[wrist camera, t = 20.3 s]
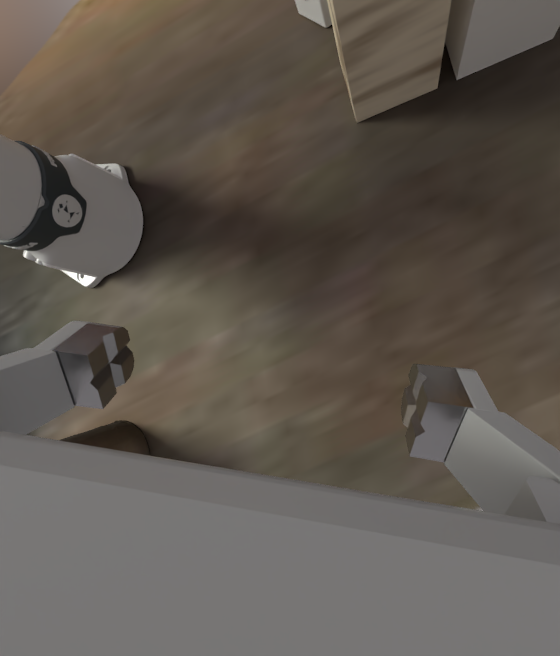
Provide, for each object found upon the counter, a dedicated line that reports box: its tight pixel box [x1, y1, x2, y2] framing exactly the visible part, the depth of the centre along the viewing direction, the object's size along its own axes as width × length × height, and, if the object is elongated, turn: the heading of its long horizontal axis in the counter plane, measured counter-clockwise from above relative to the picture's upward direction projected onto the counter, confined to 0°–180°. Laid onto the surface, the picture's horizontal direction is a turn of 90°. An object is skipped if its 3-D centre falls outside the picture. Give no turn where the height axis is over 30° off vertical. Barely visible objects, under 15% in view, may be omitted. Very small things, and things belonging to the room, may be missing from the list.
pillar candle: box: [59, 421, 150, 456], centre depth 44 cm, size 10×10×15 cm
